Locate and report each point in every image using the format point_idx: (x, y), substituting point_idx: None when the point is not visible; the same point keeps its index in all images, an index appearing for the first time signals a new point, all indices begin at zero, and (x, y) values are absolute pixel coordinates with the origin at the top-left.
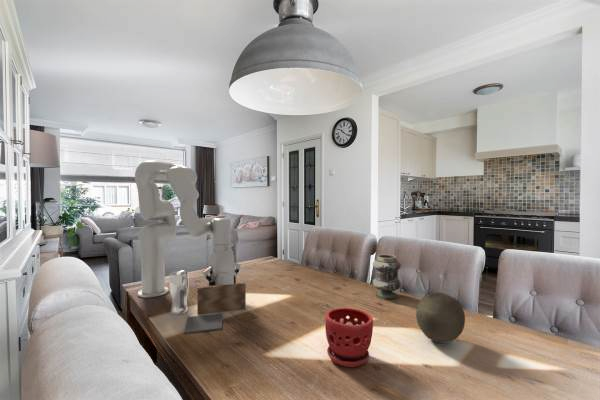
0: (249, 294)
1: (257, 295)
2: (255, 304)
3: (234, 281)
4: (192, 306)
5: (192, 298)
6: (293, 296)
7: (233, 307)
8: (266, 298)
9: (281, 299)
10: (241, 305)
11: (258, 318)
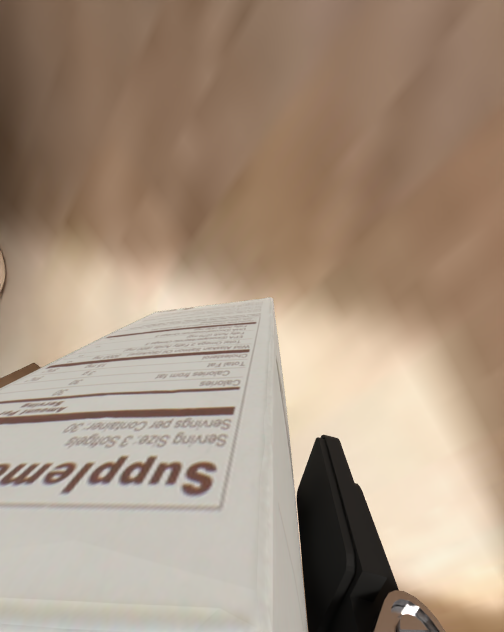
0: (426, 422)
1: (431, 472)
2: (298, 527)
3: (308, 555)
4: (50, 257)
5: (122, 100)
6: (499, 620)
7: None
8: (405, 533)
9: (427, 592)
10: None
11: None
